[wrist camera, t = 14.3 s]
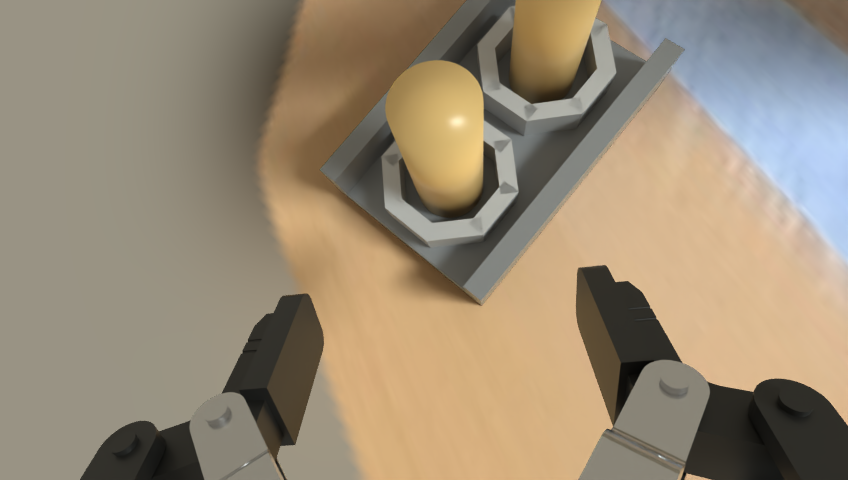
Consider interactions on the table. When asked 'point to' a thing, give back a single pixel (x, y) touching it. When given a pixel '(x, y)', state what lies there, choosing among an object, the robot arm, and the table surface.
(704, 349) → the table surface
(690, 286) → the table surface
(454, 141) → the domed yellow post
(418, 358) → the table surface
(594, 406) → the table surface
